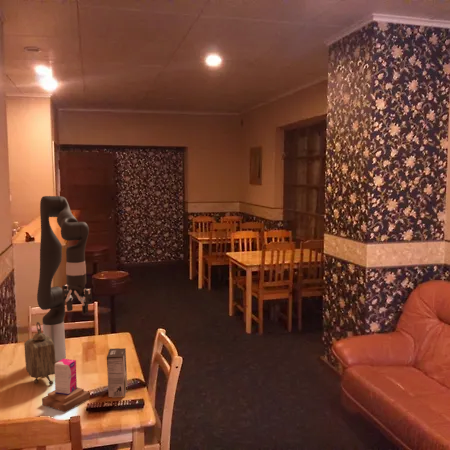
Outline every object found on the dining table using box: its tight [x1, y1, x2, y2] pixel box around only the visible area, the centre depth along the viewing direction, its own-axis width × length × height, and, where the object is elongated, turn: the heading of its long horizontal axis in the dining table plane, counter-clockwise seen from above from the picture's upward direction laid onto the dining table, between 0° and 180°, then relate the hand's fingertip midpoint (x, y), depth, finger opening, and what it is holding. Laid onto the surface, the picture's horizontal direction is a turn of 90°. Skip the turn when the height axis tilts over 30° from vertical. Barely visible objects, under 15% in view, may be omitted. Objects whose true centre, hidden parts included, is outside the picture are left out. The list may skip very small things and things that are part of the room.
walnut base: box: [41, 386, 91, 413], centre depth 188 cm, size 12×12×4 cm
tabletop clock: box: [23, 321, 57, 386], centre depth 205 cm, size 14×9×25 cm, turn 32°
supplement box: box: [54, 358, 78, 395], centre depth 187 cm, size 6×6×12 cm
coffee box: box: [106, 347, 128, 398], centre depth 194 cm, size 9×6×16 cm
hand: (77, 312), depth 200 cm, fingers open, 8 cm apart
